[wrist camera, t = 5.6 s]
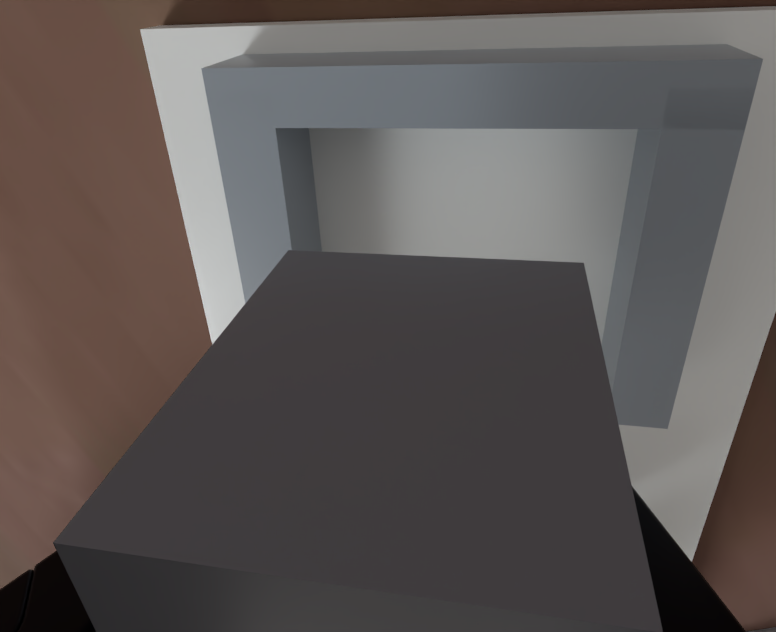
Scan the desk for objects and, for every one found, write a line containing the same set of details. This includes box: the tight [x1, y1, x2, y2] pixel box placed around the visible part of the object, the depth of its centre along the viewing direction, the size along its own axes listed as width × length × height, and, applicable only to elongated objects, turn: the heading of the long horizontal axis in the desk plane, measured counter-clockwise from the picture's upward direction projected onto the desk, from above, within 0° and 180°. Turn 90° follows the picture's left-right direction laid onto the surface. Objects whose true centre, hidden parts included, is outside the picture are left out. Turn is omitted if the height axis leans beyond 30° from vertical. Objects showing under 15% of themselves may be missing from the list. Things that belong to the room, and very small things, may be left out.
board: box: [140, 6, 776, 562], centre depth 14 cm, size 17×13×4 cm
